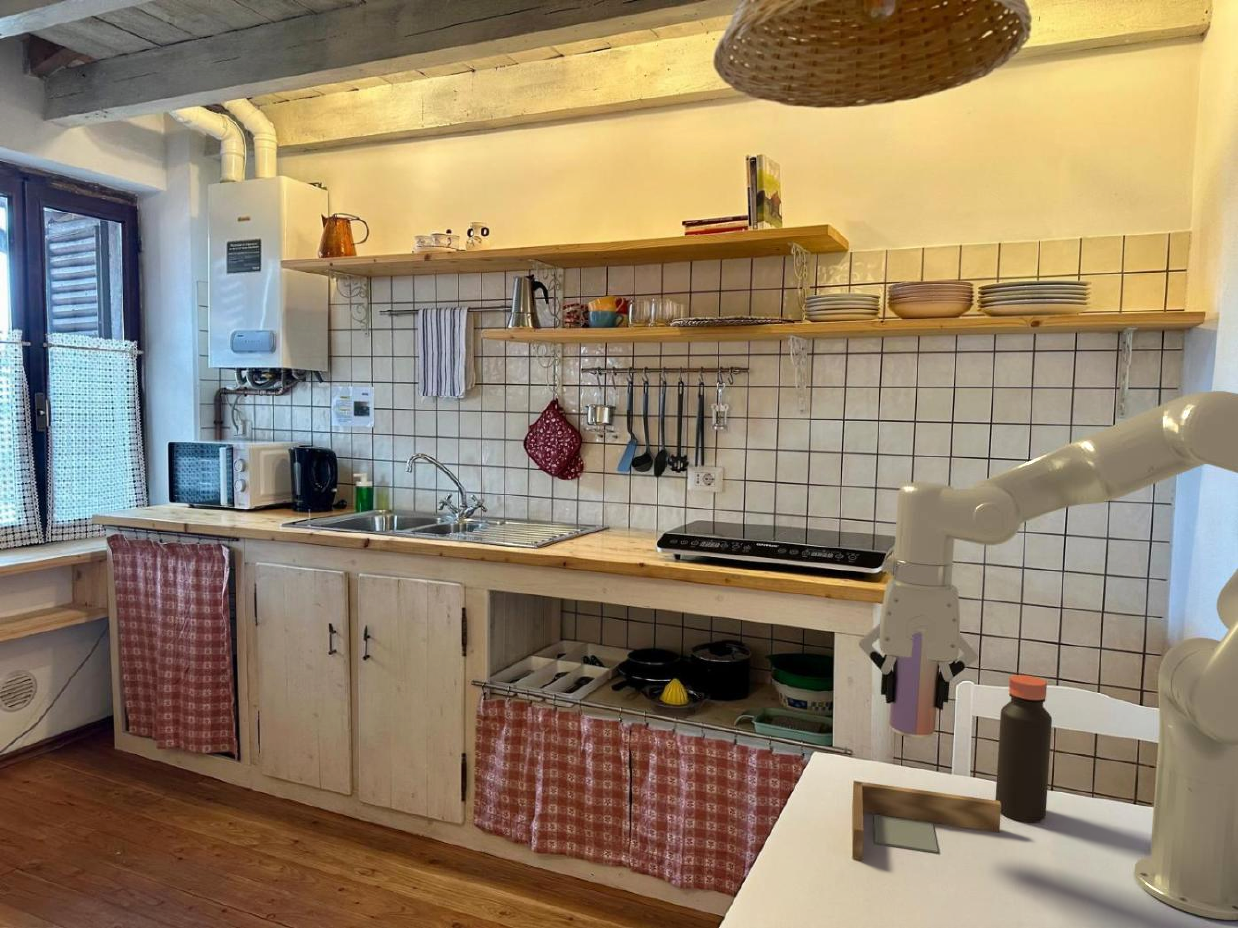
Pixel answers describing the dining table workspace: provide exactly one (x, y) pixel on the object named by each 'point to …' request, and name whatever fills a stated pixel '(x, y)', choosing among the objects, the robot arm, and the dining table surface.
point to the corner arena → (919, 809)
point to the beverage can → (915, 692)
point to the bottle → (1024, 751)
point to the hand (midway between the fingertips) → (913, 702)
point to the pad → (905, 833)
